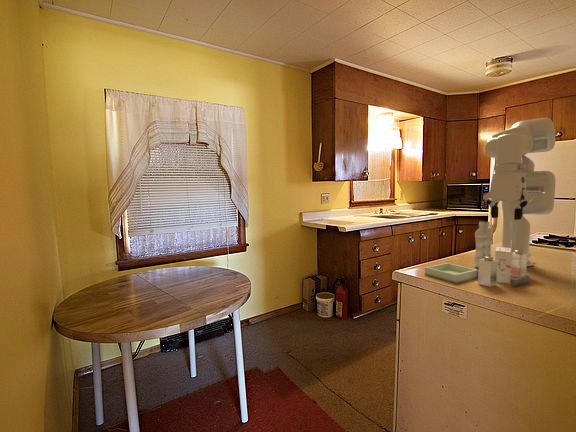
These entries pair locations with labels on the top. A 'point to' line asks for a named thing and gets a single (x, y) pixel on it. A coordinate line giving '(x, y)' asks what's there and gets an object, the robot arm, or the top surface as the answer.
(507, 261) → the ink cartridge box
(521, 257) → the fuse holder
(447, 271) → the tray
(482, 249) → the plastic bottle
